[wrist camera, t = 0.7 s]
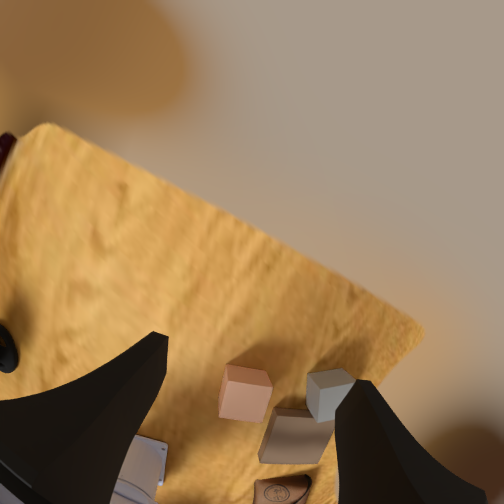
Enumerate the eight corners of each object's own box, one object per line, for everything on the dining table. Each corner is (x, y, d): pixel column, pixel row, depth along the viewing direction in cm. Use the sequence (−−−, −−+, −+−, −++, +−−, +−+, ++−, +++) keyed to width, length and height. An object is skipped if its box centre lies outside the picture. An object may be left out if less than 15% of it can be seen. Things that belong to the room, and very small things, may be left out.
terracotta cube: (256, 403, 29) (261, 423, 24) (218, 397, 28) (218, 417, 24) (265, 370, 29) (273, 387, 24) (226, 363, 28) (228, 380, 24)
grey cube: (338, 398, 30) (353, 414, 25) (305, 404, 29) (317, 422, 25) (341, 367, 30) (358, 381, 26) (307, 373, 29) (320, 389, 25)
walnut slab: (312, 453, 30) (317, 463, 27) (257, 452, 29) (259, 463, 26) (331, 409, 30) (338, 418, 28) (272, 405, 29) (277, 415, 27)
